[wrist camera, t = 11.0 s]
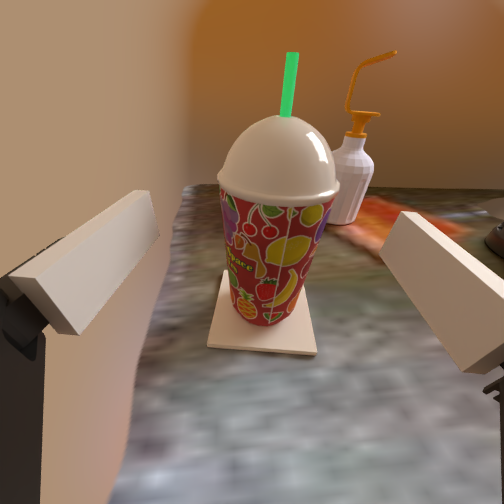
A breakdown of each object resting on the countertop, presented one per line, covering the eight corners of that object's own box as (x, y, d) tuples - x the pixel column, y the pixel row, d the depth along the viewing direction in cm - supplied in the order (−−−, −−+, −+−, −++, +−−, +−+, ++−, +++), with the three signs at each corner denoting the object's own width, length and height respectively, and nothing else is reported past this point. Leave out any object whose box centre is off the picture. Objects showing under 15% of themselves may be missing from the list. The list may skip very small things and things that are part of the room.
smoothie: (218, 283, 25) (203, 55, 13) (283, 273, 27) (321, 67, 15) (231, 349, 19) (227, 20, 7) (315, 329, 21) (427, 50, 9)
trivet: (300, 279, 27) (301, 275, 27) (315, 355, 19) (317, 352, 19) (224, 273, 27) (224, 270, 27) (207, 347, 19) (206, 343, 19)
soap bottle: (356, 229, 39) (431, 45, 24) (307, 220, 41) (349, 44, 26) (352, 210, 46) (408, 58, 31) (310, 203, 48) (344, 56, 33)
